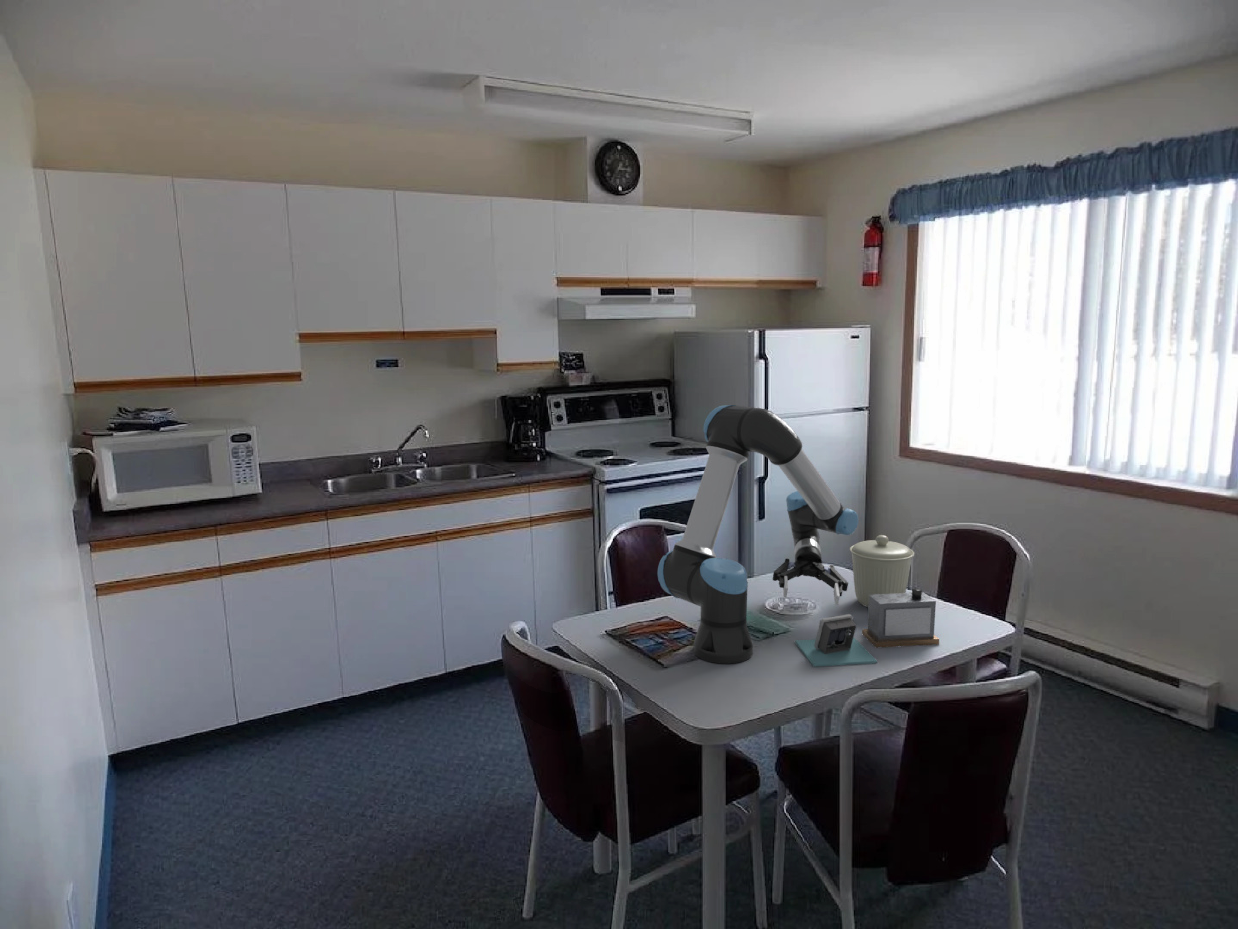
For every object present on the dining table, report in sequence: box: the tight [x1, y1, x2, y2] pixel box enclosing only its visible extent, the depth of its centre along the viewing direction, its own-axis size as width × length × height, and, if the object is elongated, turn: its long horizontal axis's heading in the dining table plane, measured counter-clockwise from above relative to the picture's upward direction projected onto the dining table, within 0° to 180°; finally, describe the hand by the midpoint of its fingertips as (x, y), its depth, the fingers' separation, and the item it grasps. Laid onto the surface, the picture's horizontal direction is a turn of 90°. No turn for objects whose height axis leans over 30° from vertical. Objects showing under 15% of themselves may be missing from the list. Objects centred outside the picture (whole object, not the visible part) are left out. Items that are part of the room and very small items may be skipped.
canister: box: [849, 534, 915, 608], centre depth 236 cm, size 18×18×21 cm
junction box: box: [861, 587, 940, 649], centre depth 210 cm, size 17×9×14 cm, turn 95°
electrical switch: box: [814, 613, 857, 654], centre depth 203 cm, size 9×5×9 cm, turn 110°
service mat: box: [794, 637, 878, 668], centre depth 204 cm, size 16×15×1 cm
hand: (811, 596), depth 213 cm, fingers open, 13 cm apart
